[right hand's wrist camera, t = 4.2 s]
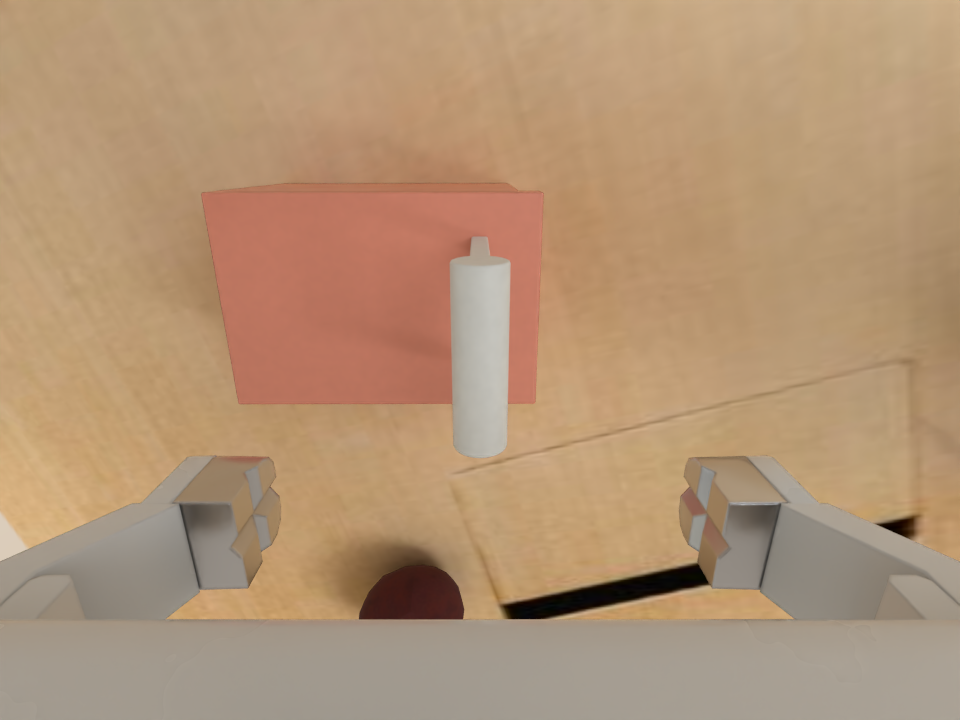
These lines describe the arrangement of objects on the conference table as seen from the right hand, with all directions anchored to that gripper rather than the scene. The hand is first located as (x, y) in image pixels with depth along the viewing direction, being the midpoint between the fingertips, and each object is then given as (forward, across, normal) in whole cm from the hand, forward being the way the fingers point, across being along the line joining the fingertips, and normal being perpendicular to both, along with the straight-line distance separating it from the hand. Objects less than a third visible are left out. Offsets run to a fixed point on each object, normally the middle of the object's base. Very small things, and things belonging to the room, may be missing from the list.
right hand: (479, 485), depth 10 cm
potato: (+24, +5, +25) cm, 35 cm away
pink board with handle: (+15, +4, 0) cm, 16 cm away
